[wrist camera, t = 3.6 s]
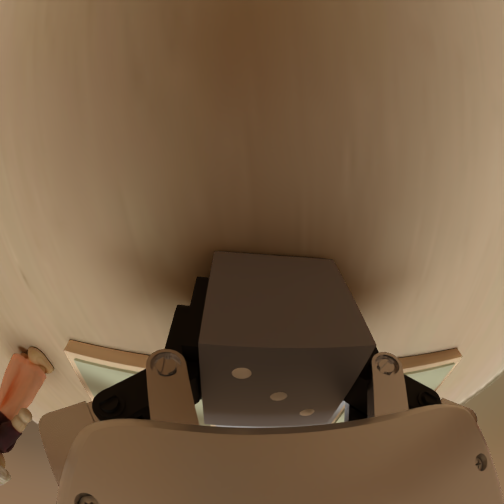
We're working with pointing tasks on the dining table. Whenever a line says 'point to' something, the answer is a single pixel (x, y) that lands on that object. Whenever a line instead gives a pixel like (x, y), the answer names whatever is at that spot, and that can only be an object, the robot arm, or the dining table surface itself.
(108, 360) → the board
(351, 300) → the die
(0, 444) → the grandmother figurine
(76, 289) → the dining table surface
